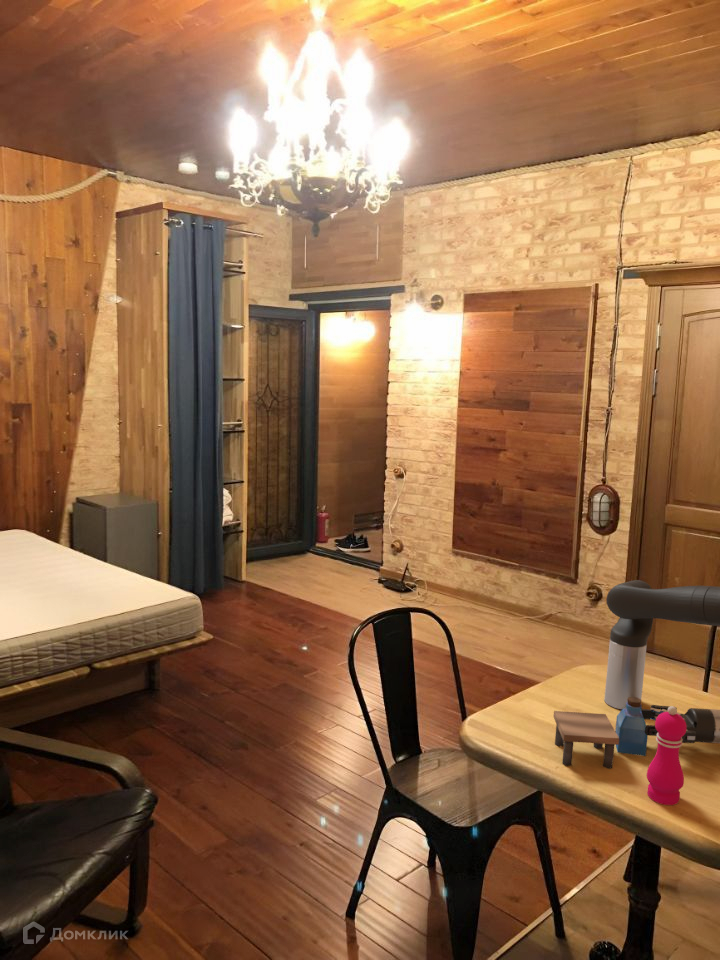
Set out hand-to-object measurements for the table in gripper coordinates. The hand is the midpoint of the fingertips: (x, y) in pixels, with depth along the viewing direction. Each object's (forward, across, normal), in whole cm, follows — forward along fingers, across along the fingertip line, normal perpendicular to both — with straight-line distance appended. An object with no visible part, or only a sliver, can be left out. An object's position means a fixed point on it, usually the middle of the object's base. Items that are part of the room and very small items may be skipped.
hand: (639, 721), depth 183 cm
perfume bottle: (+2, 0, +7) cm, 7 cm away
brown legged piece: (+14, +5, +7) cm, 16 cm away
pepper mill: (+1, +21, +7) cm, 22 cm away
